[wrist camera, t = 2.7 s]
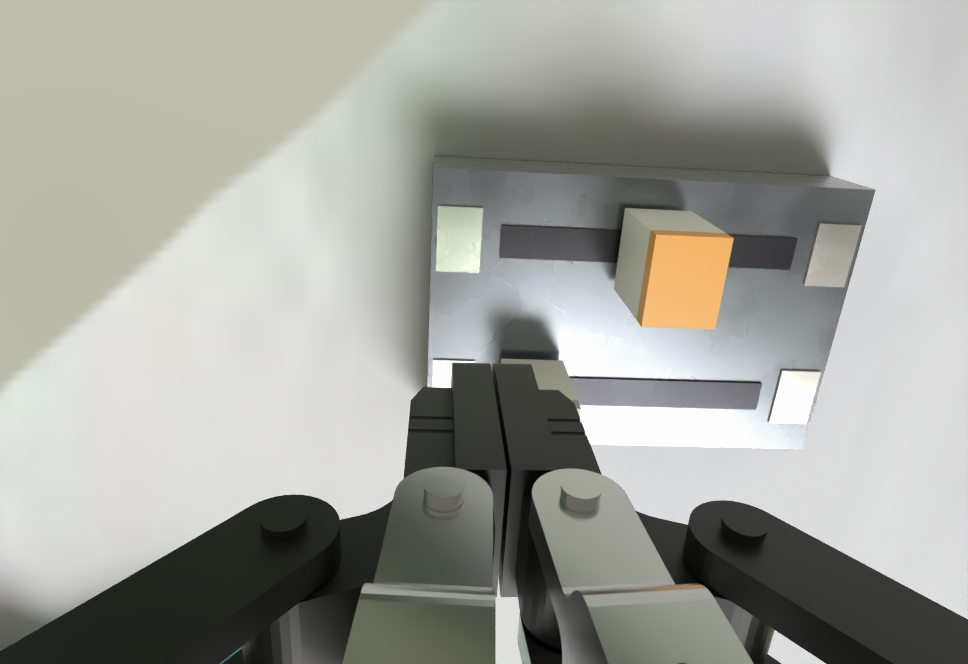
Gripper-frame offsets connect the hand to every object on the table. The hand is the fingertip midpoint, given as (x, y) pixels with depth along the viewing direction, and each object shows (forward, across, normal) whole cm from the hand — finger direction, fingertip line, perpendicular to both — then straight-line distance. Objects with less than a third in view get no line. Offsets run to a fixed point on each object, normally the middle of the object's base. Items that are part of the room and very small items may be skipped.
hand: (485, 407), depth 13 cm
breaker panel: (+15, -7, +3) cm, 17 cm away
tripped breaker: (+12, -7, 0) cm, 14 cm away
